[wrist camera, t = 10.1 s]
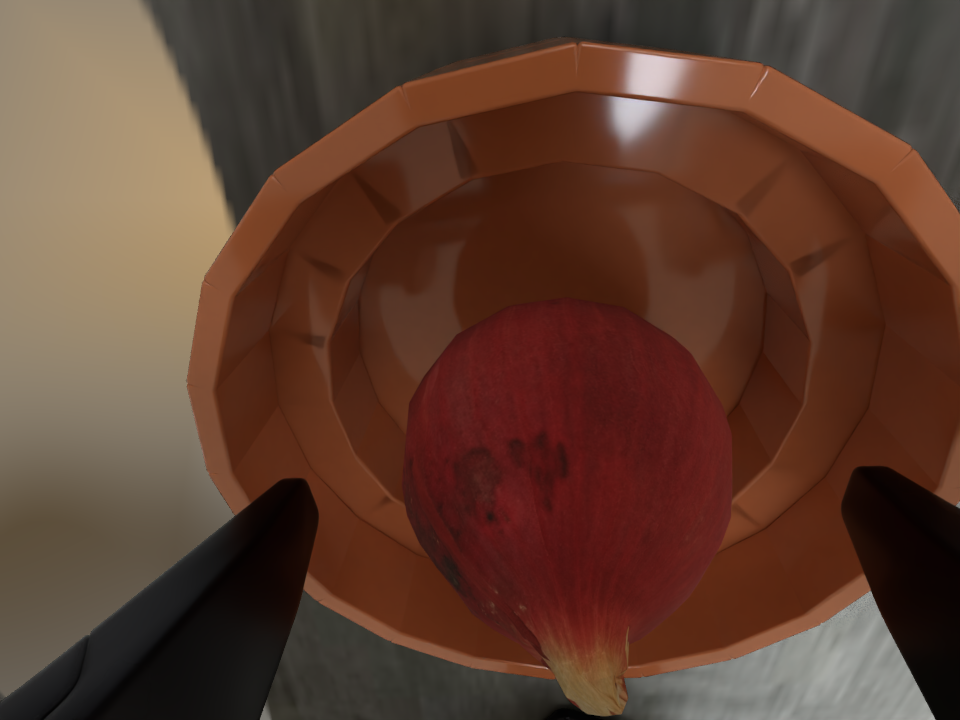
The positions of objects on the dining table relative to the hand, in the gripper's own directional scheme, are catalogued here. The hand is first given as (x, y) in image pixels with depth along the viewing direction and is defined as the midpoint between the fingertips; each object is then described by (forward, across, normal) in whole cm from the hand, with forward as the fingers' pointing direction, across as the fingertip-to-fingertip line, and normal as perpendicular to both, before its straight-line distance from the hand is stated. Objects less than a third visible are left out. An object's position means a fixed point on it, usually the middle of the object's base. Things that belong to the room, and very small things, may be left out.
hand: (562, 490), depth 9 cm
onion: (+5, 0, 0) cm, 5 cm away
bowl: (+5, 0, 0) cm, 5 cm away
